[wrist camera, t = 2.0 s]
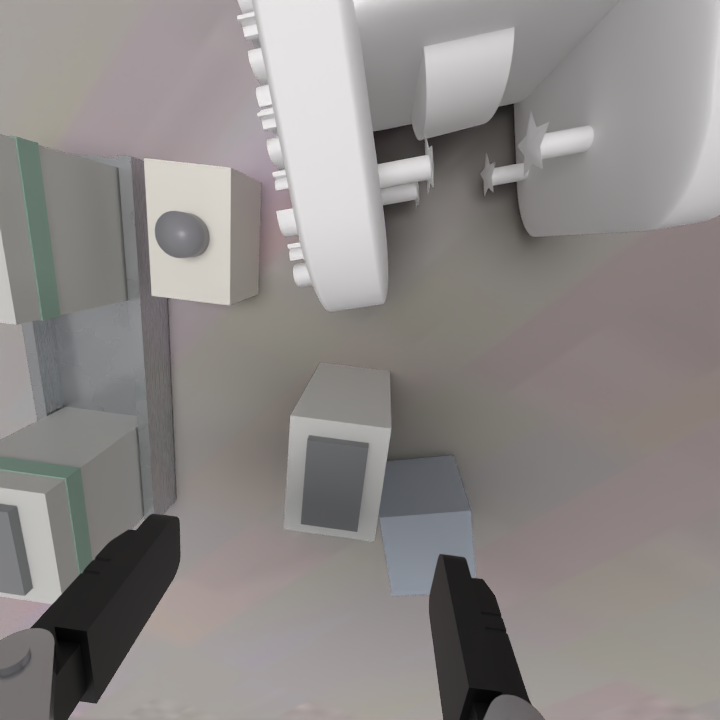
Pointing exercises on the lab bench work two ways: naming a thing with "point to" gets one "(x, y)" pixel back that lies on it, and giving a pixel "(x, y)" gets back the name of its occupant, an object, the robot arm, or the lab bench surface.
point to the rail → (116, 351)
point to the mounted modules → (68, 425)
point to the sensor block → (202, 231)
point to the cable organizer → (484, 116)
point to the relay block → (423, 521)
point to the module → (338, 452)
